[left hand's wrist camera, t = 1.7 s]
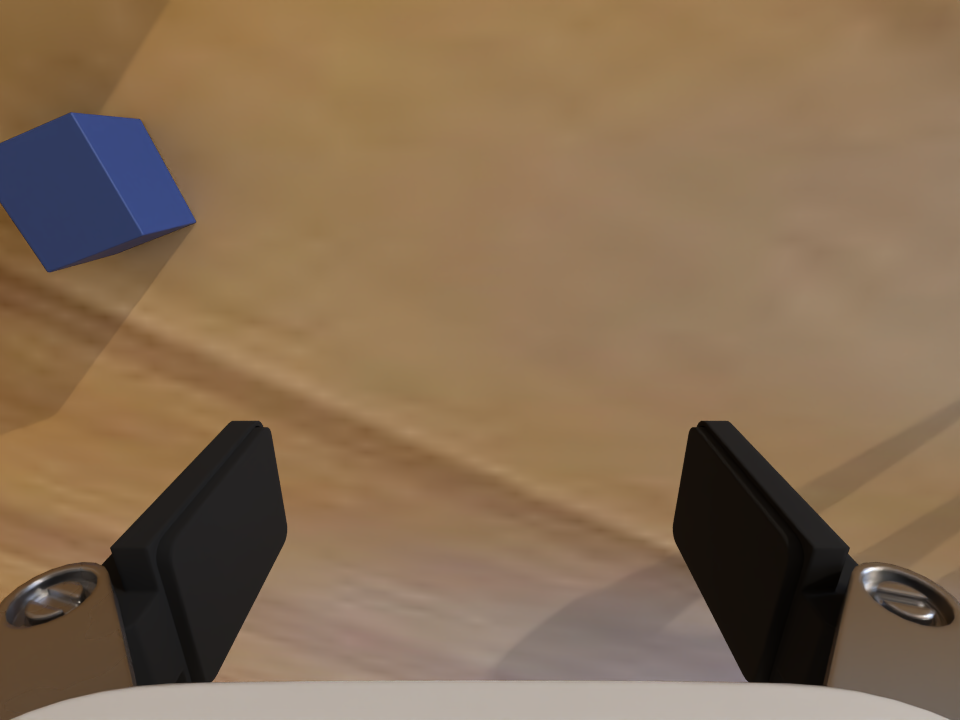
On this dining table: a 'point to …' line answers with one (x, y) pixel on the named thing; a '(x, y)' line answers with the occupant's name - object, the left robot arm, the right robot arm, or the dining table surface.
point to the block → (88, 189)
